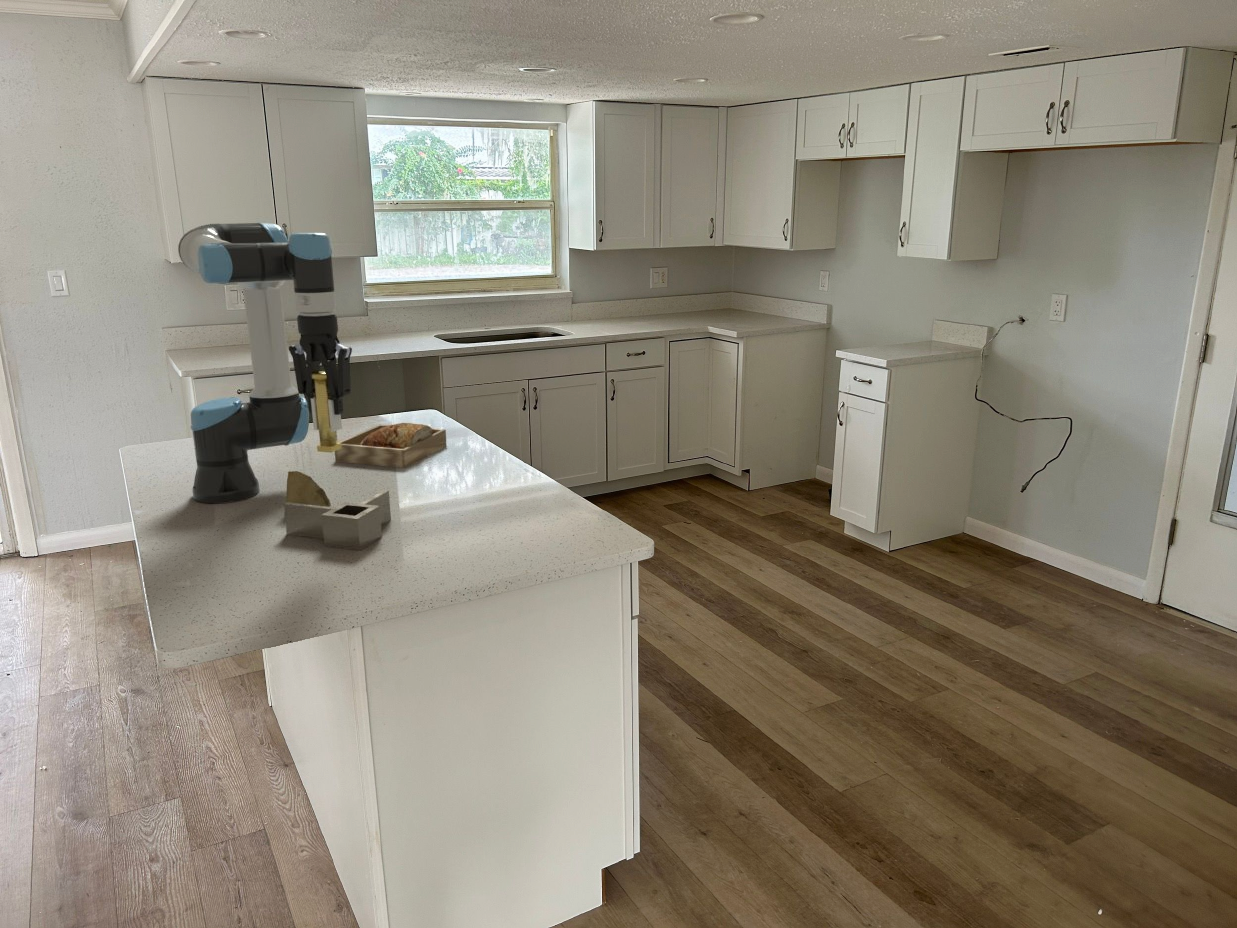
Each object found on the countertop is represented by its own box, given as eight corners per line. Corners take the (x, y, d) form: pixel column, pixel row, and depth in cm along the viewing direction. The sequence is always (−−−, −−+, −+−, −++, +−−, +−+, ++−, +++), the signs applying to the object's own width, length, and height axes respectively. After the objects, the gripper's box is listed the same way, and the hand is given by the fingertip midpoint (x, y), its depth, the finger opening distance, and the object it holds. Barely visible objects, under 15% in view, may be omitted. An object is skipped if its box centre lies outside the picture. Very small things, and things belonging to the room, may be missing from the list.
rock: (332, 491, 215) (289, 489, 212) (332, 470, 208) (287, 467, 206) (328, 529, 208) (283, 527, 206) (328, 508, 202) (282, 506, 199)
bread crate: (335, 461, 248) (333, 444, 247) (381, 440, 270) (379, 424, 269) (405, 467, 242) (404, 450, 241) (446, 445, 264) (445, 429, 263)
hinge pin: (314, 451, 181) (306, 374, 177) (327, 446, 185) (319, 370, 181) (332, 453, 180) (324, 375, 176) (344, 448, 184) (337, 371, 179)
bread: (402, 468, 243) (400, 432, 240) (348, 461, 249) (345, 426, 247) (444, 449, 261) (442, 416, 258) (392, 443, 268) (390, 411, 265)
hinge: (276, 540, 190) (272, 509, 188) (326, 512, 207) (324, 483, 205) (360, 550, 185) (357, 518, 183) (405, 521, 202) (403, 491, 200)
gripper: (269, 314, 174) (282, 430, 180) (341, 317, 169) (351, 436, 176) (293, 310, 181) (305, 422, 187) (363, 312, 176) (373, 427, 182)
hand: (327, 428), depth 181 cm, fingers closed on hinge pin, 3 cm apart
